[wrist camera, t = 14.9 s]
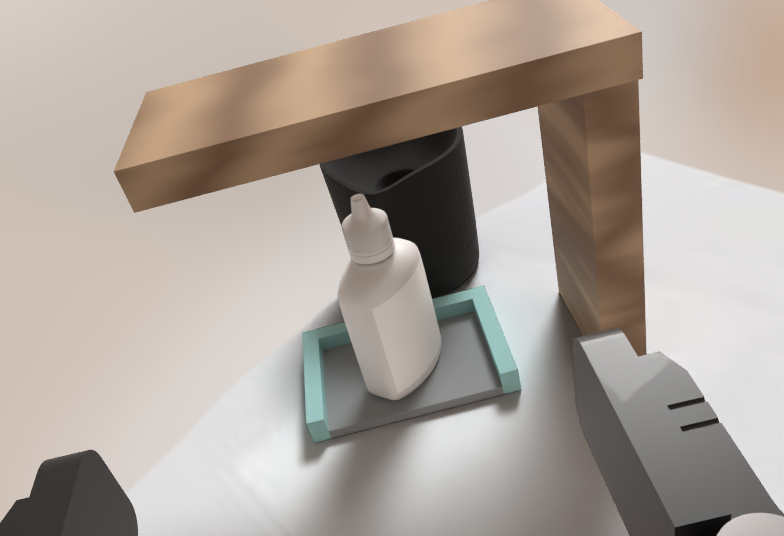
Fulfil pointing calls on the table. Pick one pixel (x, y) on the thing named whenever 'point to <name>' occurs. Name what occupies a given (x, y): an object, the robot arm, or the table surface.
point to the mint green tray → (438, 392)
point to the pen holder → (417, 200)
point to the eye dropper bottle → (387, 305)
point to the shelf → (434, 125)
